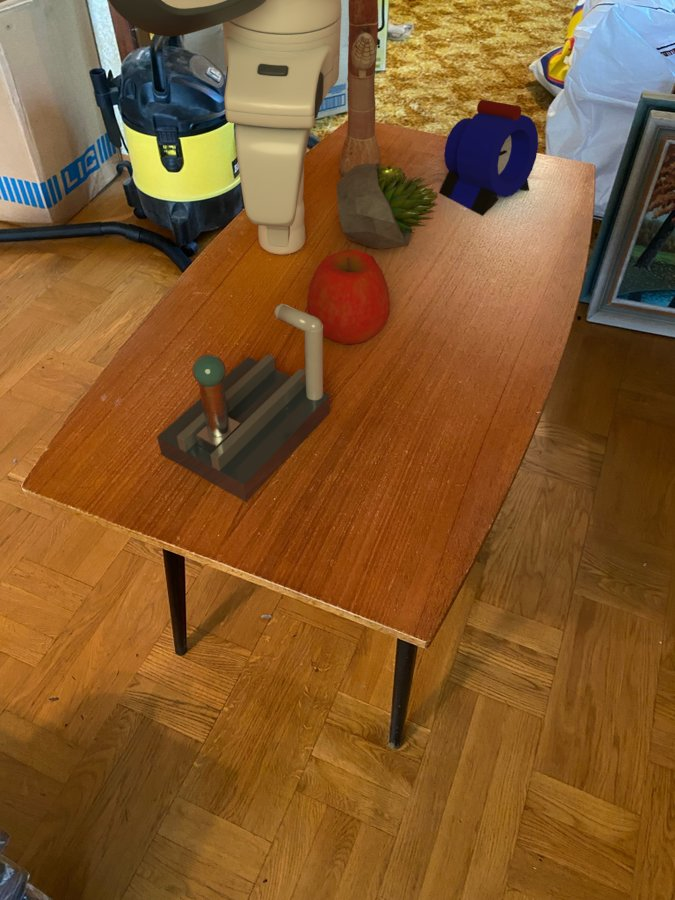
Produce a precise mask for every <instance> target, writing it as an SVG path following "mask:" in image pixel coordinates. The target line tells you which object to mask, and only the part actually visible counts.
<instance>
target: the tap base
mask: <svg viewBox="0 0 675 900" xmlns="http://www.w3.org/2000/svg"><path fill="white" fill-rule="evenodd" d="M273 314H274V317H275V318H276V319H277V320H278V321H280V322H282V323H285V324H287V325H290V326H292V327H294V328H296V329H298V330H300V331H303V335H304V336H303V337H304V342H303V343H304V369H303V368H300V367H299V369H297V371H296V372H294V373H293V374H292V375H291V376H290V375H289V374H286V373H284V372H282V371H281V370H278V369H276V359H275V358H276V357H275V356H274V355H272V354H269V353H266V355H265V356H264V357H262V358H261V359H260V361H259V360H256V359H254V358H252V357H250V356H246V357H245V358H244V359H243V360H242V361H241V362H240V363H239V364H238V365H237V366H235V367H234V368H233V369H232V370H231V371H229V372H228V373H226V374H225V377H224V379H223V384H224V390H225V397H226V404H227V411H228V417H229V418H231V419H233V420H235V421H237V422H239V423H241V426H239V427H238V428H237V429H236V430H235V431H234V432H233V433H232V434H231V435H230V436H229V437H228V438H227V439H226V440H225V441H224V442H223V443H222V444H221V445H220V446H219V447H218V448H217V449H216V450H215V451H214V452H211V451H209V450H207V449H205V448H203V447H202V446H200V445H198V442H197V437H196V435H197V434H198V433H199V432H200V431H201V430H202V429H203V428H204V427H205V426H206V421H205V415H204V410H203V404H202V398H201V397H200V398H199V399H197V401H195V403H193V404H192V405H191V406H190V407H189V408H188V409H186V410H185V411H184V412H183V413H182V414H181V415H180V416H178V417H177V418H176V419H175V420H174V421H173V422H172V423H170V424H169V426H167V427H166V428H165V429H164V430H163V431H161V432H160V433H159V434H158V435H157V436H156V439H157V443H158V447H159V450H160V454H161V456H163V457H165V458H167V459H169V460H170V461H172V462H174V463H176V464H177V465H179V466H181V467H183V468H185V469H186V470H188V471H190V472H191V473H193V474H195V475H197V476H199V477H201V478H202V479H204V480H206V481H208V482H210V483H211V484H213V485H215V486H217V487H218V488H221V489H222V490H224V491H226V492H227V493H229V494H231V495H233V496H235V497H236V498H238V499H239V500H241V501H243V502H245V503H247V502H248V501H250V499H251V498H252V497H253V496H254V495H255V494H256V493H257V492H258V490H259V489H260V488H261V487H262V486H264V484H265V483H266V482H267V481H268V480H269V479H270V478H271V477H272V476H273V474H274V473H275V472H277V470H278V469H279V468H280V467H281V466H282V465H283V464H284V463H285V461H287V460H288V458H289V457H290V456H291V455H292V454H293V453H294V452H295V451H296V450H297V449H298V448H299V447H300V446H301V445H302V443H303V442H305V440H306V439H307V438H309V436H310V435H311V434H312V433H313V432H314V431H315V429H316V428H318V427H319V425H320V424H321V423H322V422H323V421H324V420H325V419H326V418H327V417H328V416H329V415H330V413H331V394H329V393H327V392H325V391H324V335H323V324H322V322H321V321H320V319H319V318H317V317H314V316H312V315H310V314H309V313H307V312H305V311H303V310H300V309H298V308H296V307H293V306H291V305H289V304H286V303H280V304H277V305H276V307H275V308H274V311H273Z"/></svg>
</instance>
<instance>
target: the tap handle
mask: <svg viewBox="0 0 675 900" xmlns="http://www.w3.org/2000/svg"><path fill="white" fill-rule="evenodd" d="M191 369H192V376H193V378H194V380H195V381H196V383H198V388H199V393H200V398H202V404H203V410H204V415H205V421H206V426H205V427H204V428H203V429H202V430H201V431H200V432H199V433H198V434H197V435H196V437H197V442H198V445H200V446H202V447H203V448H205V449H207V450H209V451H211V452H214V451H215V450H216V449H217V448H218V447H219V446H220V445H221V444H222V443H223V442H224V441H225V440H226V439H227V438H228V437H229V436H230V435H231V434H232V433H233V432H234V431H235V430H236V429H237V428H238V427H239V426H241V423H239V422H237V421H235V420H233V419H231V418H229V417H228V411H227V404H226V397H225V390H224V384H223V379H224V377H225V376H226V374H227V373H226V372H227V371H226V370H227V369H226V365H225V363H224V361H223V360H222V359H221V358H220V357H219V356H217V355H216V354H212V353H206V354H202V355H200V356H198V357H197V358H196V360H195V361H194V362H193V365H192V368H191Z"/></svg>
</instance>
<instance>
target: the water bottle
mask: <svg viewBox="0 0 675 900" xmlns="http://www.w3.org/2000/svg"><path fill="white" fill-rule="evenodd" d="M304 187H305V166H304V167H303V173H302V178H301V184H300V190H299V195H298V202H297V209H296V215H295V219H294V222H293V224H292V225H291V226H290V236H289V243H288V245H287V246H286V247H278V246H271V245H270V244H269V243H268V234H267V227H266V226H263V225H257V236H258V238H257V239H258V244H259V246H260V247H261V248H262V249H263V250H264V251H266V252H268V253H270V254H273V255H278V256H282V255H284V256H285V255H290V254H294V253H296V252H299V250H301V249H302V248H303V247H304V245H305V243H306V225H305V214H306V211H305V209H306V207H305V201H304V191H305V190H304Z"/></svg>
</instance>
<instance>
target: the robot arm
mask: <svg viewBox="0 0 675 900" xmlns="http://www.w3.org/2000/svg"><path fill="white" fill-rule="evenodd" d="M106 1H107V2H108V4H110V6H111V7H112V8H113V9H114V10H115V11H116V12H117V13H118V15H120V16H121V17H122V18H123V19H124V20H125V21H127V22H128V23H130V25H132V26H133V27H136V28H137V29H139V30H141V31H144V32H146V33H149V34H151V35H155V36H159V37H160V36H161V37H181V36H185V35H190V34H193V33H196V32H200V31H203V30H206V29H209V28H213V27H216V26H219V25H222V36H223V52H224V66H225V74H226V75H225V83H224V84H225V85H224V101H223V102H224V103H223V104H224V114H225V120H226V121H227V123H230V124H235V127H234V128H235V130H234V133H235V134H234V136H235V150H236V151H235V152H236V159H237V166H238V167H237V168H238V173H239V178H240V179H239V180H240V187H241V194H242V201H243V207H244V211H245V214H246V216H247V218H248V220H249V223H251V224H253V225H254V226H255V225H257V226H258V225H263V226H266V227H267V234H268V243H269V244H270V245H271V246H278V247H286V246H287V245H288V243H289V236H290V226H291V225H292V224H293V222H294V219H295V215H296V209H297V202H298V195H299V190H300V184H301V178H302V173H303V167H304V168H305V161H306V155H307V149H308V143H309V139H310V132H311V129H313V128H314V127H315V124H316V120H317V118H318V116H319V112H320V109H321V106H322V104H323V102H324V100H325V99H326V97H327V95H328V94H329V92H330V90H331V89H332V88H333V87H334V86H335V85H336V84H337V82H338V80H339V76H340V58H341V57H340V54H341V33H342V31H341V30H342V0H106Z"/></svg>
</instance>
